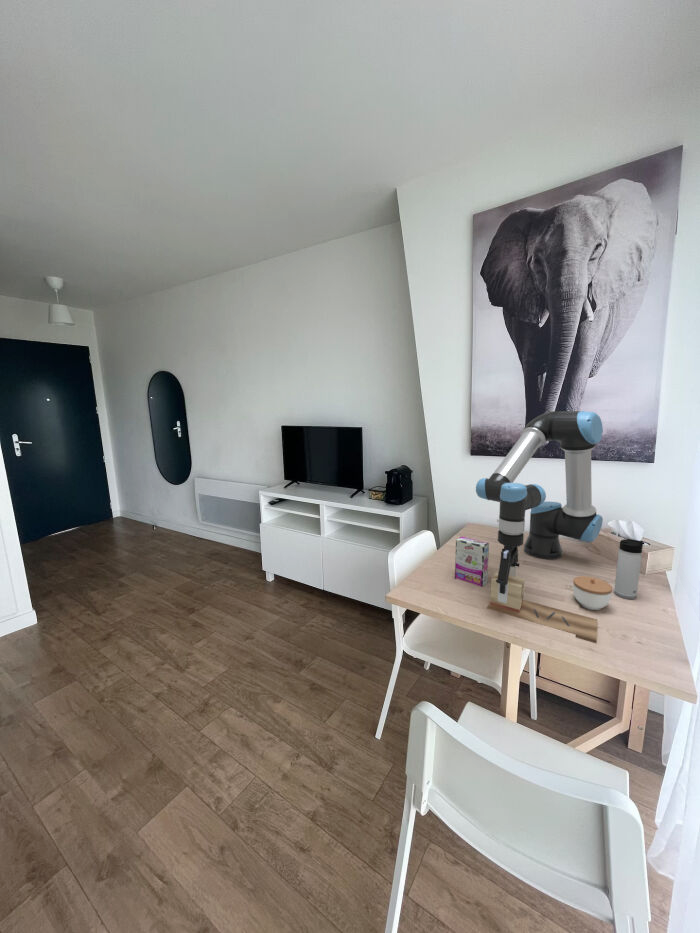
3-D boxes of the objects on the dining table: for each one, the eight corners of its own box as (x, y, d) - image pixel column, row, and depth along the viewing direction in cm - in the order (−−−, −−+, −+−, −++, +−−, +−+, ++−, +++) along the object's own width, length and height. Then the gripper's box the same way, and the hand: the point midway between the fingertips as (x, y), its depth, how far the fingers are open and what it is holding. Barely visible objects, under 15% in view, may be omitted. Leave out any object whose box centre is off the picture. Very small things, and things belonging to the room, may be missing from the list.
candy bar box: (487, 583, 136) (490, 542, 133) (482, 588, 133) (484, 546, 130) (460, 574, 144) (461, 535, 141) (454, 579, 140) (455, 539, 137)
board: (495, 594, 128) (495, 592, 128) (596, 621, 112) (597, 619, 111) (486, 610, 119) (486, 608, 119) (596, 643, 102) (596, 640, 102)
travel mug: (640, 601, 122) (647, 545, 119) (617, 597, 125) (623, 542, 121) (633, 592, 128) (640, 538, 125) (611, 589, 130) (617, 536, 127)
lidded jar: (574, 593, 128) (576, 568, 127) (611, 603, 121) (614, 577, 120) (568, 606, 120) (571, 580, 118) (608, 618, 113) (611, 590, 112)
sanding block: (494, 596, 126) (495, 572, 124) (522, 604, 121) (524, 579, 119) (490, 604, 121) (491, 579, 119) (519, 612, 116) (521, 586, 114)
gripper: (506, 519, 128) (503, 575, 132) (488, 541, 108) (485, 606, 112) (530, 522, 124) (525, 580, 128) (515, 546, 104) (511, 613, 108)
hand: (506, 592), depth 120 cm, fingers open, 13 cm apart
